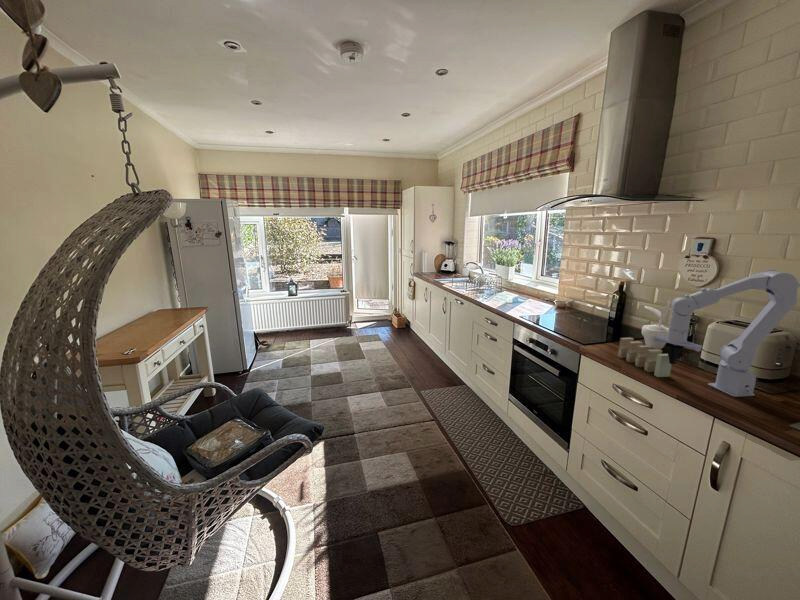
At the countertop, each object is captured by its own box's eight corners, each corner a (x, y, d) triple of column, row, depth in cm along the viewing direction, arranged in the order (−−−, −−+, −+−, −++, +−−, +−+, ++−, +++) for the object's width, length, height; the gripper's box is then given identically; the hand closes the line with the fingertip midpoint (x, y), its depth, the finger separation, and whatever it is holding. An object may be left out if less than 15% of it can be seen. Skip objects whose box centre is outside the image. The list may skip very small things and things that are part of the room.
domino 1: (631, 357, 151) (633, 338, 149) (620, 358, 151) (623, 339, 149) (628, 355, 153) (630, 337, 151) (617, 356, 152) (620, 337, 151)
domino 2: (639, 361, 146) (642, 342, 144) (629, 362, 146) (631, 342, 144) (636, 360, 148) (639, 341, 146) (626, 360, 148) (628, 341, 146)
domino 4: (658, 371, 137) (662, 350, 135) (647, 371, 136) (650, 351, 134) (655, 369, 138) (658, 349, 136) (644, 370, 138) (647, 349, 136)
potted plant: (674, 349, 160) (683, 298, 154) (659, 353, 156) (667, 301, 150) (647, 341, 171) (654, 293, 166) (632, 344, 167) (638, 296, 162)
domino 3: (649, 366, 141) (652, 346, 139) (638, 367, 141) (641, 347, 139) (645, 364, 143) (648, 344, 141) (634, 365, 143) (637, 345, 141)
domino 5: (669, 376, 132) (673, 355, 130) (657, 377, 131) (661, 355, 129) (665, 374, 134) (669, 353, 132) (654, 375, 133) (657, 354, 131)
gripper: (707, 332, 120) (700, 367, 123) (660, 323, 133) (655, 355, 135) (699, 336, 117) (693, 371, 120) (652, 326, 129) (647, 358, 132)
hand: (672, 363), depth 127 cm, fingers closed
